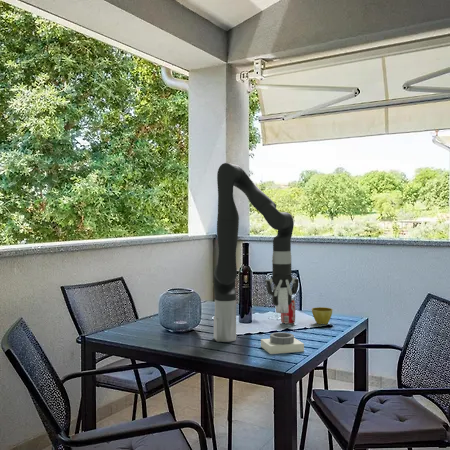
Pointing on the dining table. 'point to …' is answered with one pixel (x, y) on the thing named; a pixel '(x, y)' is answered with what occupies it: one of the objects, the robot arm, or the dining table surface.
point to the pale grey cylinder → (282, 300)
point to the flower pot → (322, 315)
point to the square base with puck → (282, 343)
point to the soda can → (289, 314)
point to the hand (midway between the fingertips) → (282, 304)
